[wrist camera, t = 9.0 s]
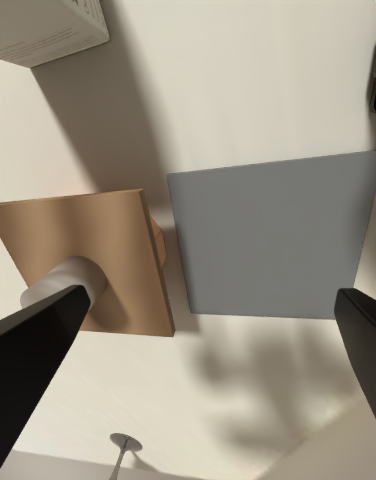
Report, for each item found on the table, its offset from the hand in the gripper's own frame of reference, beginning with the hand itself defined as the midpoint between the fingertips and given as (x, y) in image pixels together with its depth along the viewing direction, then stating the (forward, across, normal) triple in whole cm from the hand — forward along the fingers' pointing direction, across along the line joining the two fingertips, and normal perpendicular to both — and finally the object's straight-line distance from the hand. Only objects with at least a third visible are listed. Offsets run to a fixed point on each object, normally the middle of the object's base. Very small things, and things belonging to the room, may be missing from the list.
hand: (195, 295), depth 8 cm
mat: (+12, -4, +5) cm, 13 cm away
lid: (+8, +11, +4) cm, 14 cm away
